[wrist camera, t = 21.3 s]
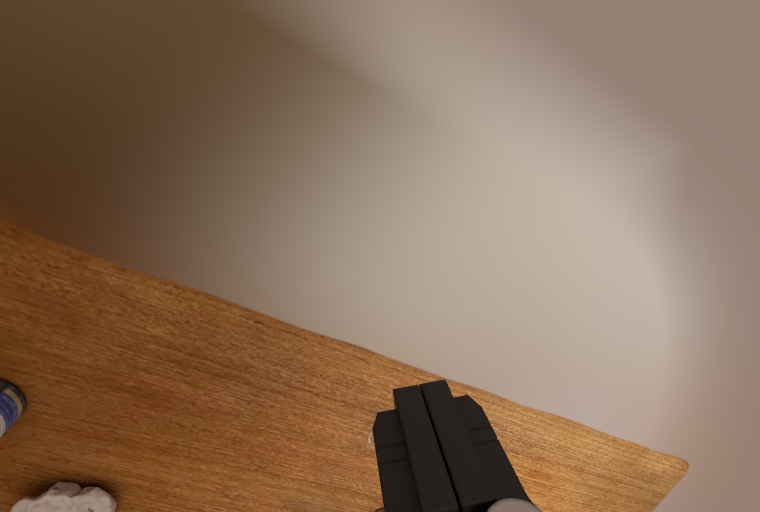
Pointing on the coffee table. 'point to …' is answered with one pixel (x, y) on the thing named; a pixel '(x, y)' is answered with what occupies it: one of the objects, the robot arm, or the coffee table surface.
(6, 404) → the pill bottle
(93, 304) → the coffee table surface
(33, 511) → the fossil
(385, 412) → the robot arm
